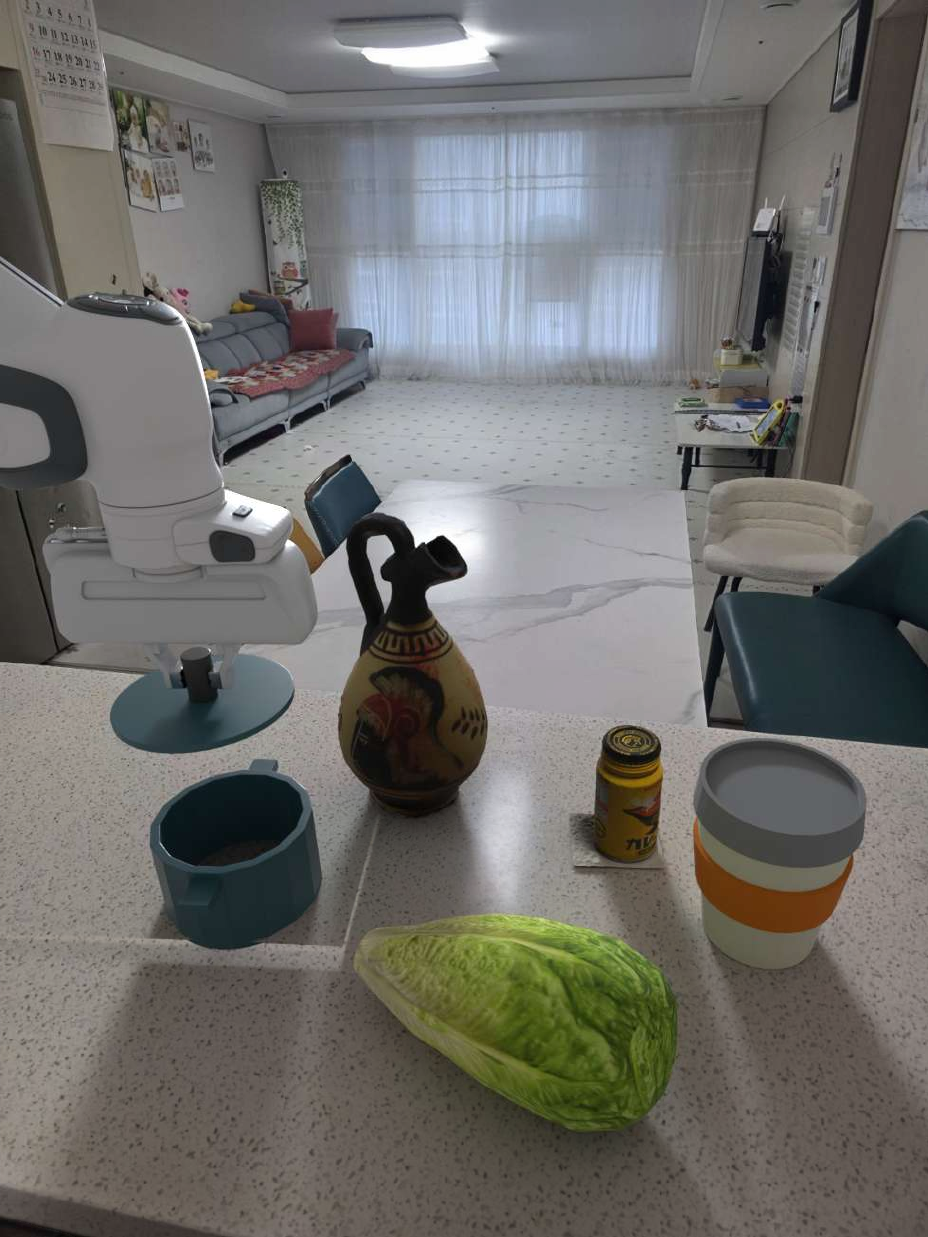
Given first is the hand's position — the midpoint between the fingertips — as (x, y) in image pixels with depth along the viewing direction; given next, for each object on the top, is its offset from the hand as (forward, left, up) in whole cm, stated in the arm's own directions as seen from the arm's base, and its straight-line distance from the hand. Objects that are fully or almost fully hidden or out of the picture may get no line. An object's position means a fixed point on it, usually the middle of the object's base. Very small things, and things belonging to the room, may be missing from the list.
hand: (202, 685), depth 68 cm
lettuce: (+25, -16, -21) cm, 36 cm away
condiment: (+35, +6, -21) cm, 41 cm away
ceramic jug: (+14, +14, -21) cm, 29 cm away
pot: (+1, -2, -21) cm, 21 cm away
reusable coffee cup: (+46, -4, -21) cm, 51 cm away
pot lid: (0, 0, -2) cm, 2 cm away
